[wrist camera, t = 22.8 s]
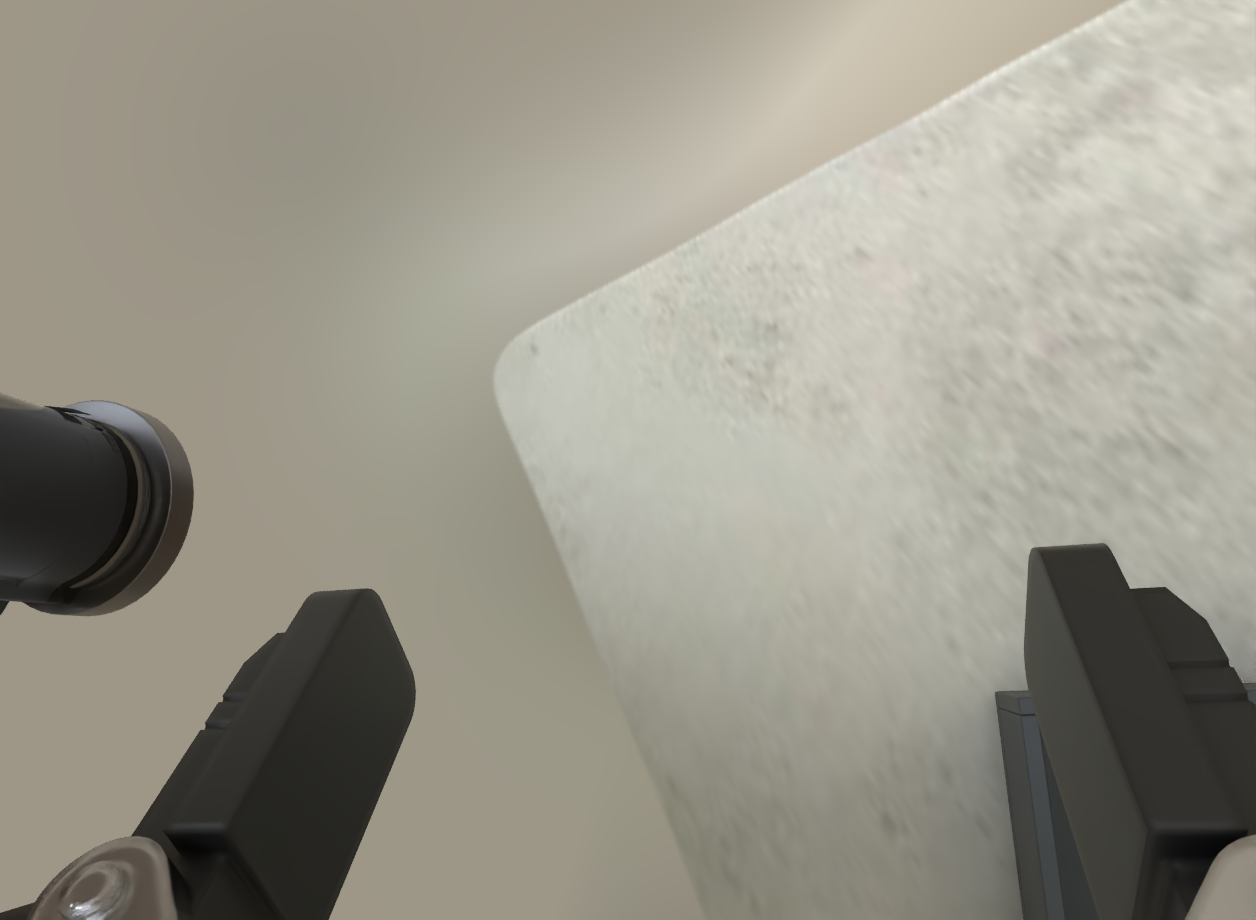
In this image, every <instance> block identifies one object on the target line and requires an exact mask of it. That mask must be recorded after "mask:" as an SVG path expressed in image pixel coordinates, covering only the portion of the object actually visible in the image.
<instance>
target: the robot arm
mask: <svg viewBox="0 0 1256 920" xmlns="http://www.w3.org/2000/svg"><path fill="white" fill-rule="evenodd" d="M64 412H70V413H78V414H87V413H84V412H81V411H78V410H75V409H68V408H60V407H51V406H42V405H39V404H35V403H32V402H29V401H26V400H23V399H19V398H16V397H13V396H9V395H6V394H3V393H0V615H1V614H2V612H3V611H4V609H5V607H6V606H7V604H8V602H9V601H19V602H20V601H21V602H35V603H50V604H66V605H69V604H71V603H72V602H73V600H74V599H75V597H76V595H77V594H78V593H79V591H80V590H81V589H82V588H85V587H88V586H91V585H93V584H95V583H97V582H99V581H101V580H102V579H104V578H105V577H107V576H108V575H109V574H111V573H112V572H113V571H114V570H115V569H117V568H118V567H119V566H120V565H121V564H122V562H123V561H124V560H125V559H126V558H127V556H128V555H129V554H130V553H131V551H132V550H133V548H134V547H135V545H136V543H137V541H138V539H139V537H140V535H141V533H142V531H143V528H144V525H145V523H146V519H147V516H148V511H149V506H150V495H151V487H150V477H149V471H148V468H147V464H146V462H145V459H144V457H143V455H142V453H141V451H140V449H139V448H138V446H137V445H136V443H135V442H134V441H133V440H132V439H131V438H130V437H129V436H128V435H127V434H126V433H124V432H123V431H121V430H120V429H118V428H116V427H114V426H111V425H109V424H106V423H102V422H99V421H96V420H92V419H86V418H83V417H80V416H77V415H72V414H67V413H64ZM87 415H90V414H87ZM1024 660H1025V670H1026V678H1027V684H1028V689H1029V694H1030V698H1031V701H1032V705H1033V708H1034V711H1035V715H1036V718H1037V721H1038V724H1039V727H1040V731H1041V734H1042V737H1043V740H1044V744H1045V747H1046V750H1047V753H1048V756H1049V760H1050V763H1051V766H1052V769H1053V773H1054V776H1055V779H1056V782H1057V785H1058V789H1059V792H1060V795H1061V798H1062V801H1063V805H1064V808H1065V811H1066V814H1067V818H1068V821H1069V824H1070V827H1071V830H1072V834H1073V837H1074V840H1075V843H1076V846H1077V850H1078V853H1079V856H1080V859H1081V863H1082V866H1083V869H1084V872H1085V875H1086V879H1087V882H1088V885H1089V888H1090V892H1091V895H1092V898H1093V901H1094V904H1095V908H1096V911H1097V914H1098V917H1099V920H1256V706H1255V704H1254V703H1253V701H1249V699H1248V692H1247V690H1246V689H1245V687H1244V685H1243V683H1242V682H1241V680H1240V678H1239V676H1238V675H1237V673H1236V671H1235V669H1234V668H1233V667H1230V666H1229V659H1228V657H1227V656H1226V654H1225V652H1224V650H1223V649H1222V647H1221V645H1220V643H1219V642H1218V640H1217V638H1216V636H1215V635H1214V633H1213V631H1212V629H1211V628H1210V626H1209V624H1208V622H1207V621H1206V619H1204V618H1203V617H1202V616H1201V615H1199V614H1198V613H1197V612H1196V611H1194V610H1193V609H1192V608H1191V607H1189V606H1188V605H1187V604H1186V603H1184V602H1183V601H1182V600H1181V599H1179V598H1178V597H1177V596H1176V595H1174V594H1173V593H1172V592H1171V591H1169V590H1168V589H1167V588H1166V587H1157V588H1138V589H1130V588H1129V586H1128V584H1127V582H1126V580H1125V578H1124V576H1123V574H1122V572H1121V570H1120V568H1119V565H1118V563H1117V561H1116V559H1115V557H1114V555H1113V553H1112V552H1111V550H1110V548H1109V547H1108V546H1107V545H1106V544H1104V543H1098V544H1082V545H1067V546H1051V547H1035V548H1032V550H1031V552H1030V555H1029V563H1028V581H1027V600H1026V619H1025V637H1024ZM415 693H416V690H415V681H414V676H413V672H412V669H411V667H410V665H409V662H408V660H407V658H406V655H405V653H404V651H403V648H402V646H401V644H400V641H399V639H398V637H397V635H396V632H395V630H394V628H393V626H392V623H391V621H390V619H389V616H388V614H387V612H386V609H385V607H384V605H383V602H382V600H381V598H380V597H379V595H378V594H377V593H376V592H375V591H374V590H372V589H353V590H352V589H351V590H336V591H320V592H315V593H313V594H311V595H310V596H309V597H308V598H307V599H306V600H305V602H304V603H303V605H302V607H301V608H300V610H299V611H298V613H297V614H296V616H295V618H294V619H293V621H292V622H291V624H290V626H289V627H288V629H287V631H286V632H285V633H277V634H276V635H275V636H274V637H272V638H271V639H270V640H269V641H268V642H267V643H266V644H265V645H263V646H262V647H261V648H260V649H259V650H258V651H257V652H256V653H255V654H254V655H252V656H251V657H250V658H249V659H248V660H247V661H246V662H245V663H244V664H243V665H242V667H241V669H240V670H239V672H238V673H237V675H236V676H235V678H234V680H233V681H232V682H231V684H230V685H229V687H228V689H227V690H226V692H225V693H224V695H223V702H219V703H218V704H217V705H216V707H215V709H214V710H213V712H212V713H211V715H210V716H209V718H208V719H207V721H206V722H205V724H206V728H205V730H200V732H199V733H198V735H197V736H196V738H195V739H194V741H193V742H192V744H191V745H190V747H189V749H188V750H187V752H186V753H185V755H184V756H183V758H182V759H181V761H180V763H179V764H178V766H177V767H176V769H175V770H174V772H173V773H172V775H171V776H170V778H169V779H168V781H167V782H166V784H165V785H164V787H163V788H162V790H161V792H160V793H159V795H158V796H157V798H156V799H155V801H154V802H153V804H152V805H151V807H150V808H149V810H148V812H147V813H146V815H145V816H144V818H143V819H142V821H141V822H140V824H139V825H138V827H137V828H136V830H135V831H134V833H133V834H132V836H131V837H124V838H119V839H116V840H112V841H109V842H106V843H104V844H102V845H100V846H98V847H95V848H93V849H92V850H90V851H88V852H87V853H85V854H83V855H82V856H80V857H79V858H77V859H76V860H75V861H73V862H72V863H70V864H69V865H68V866H67V867H66V868H64V869H63V870H62V871H61V872H60V873H59V874H58V875H57V876H56V877H55V878H54V879H53V880H52V881H51V882H50V883H49V884H48V885H47V887H46V888H45V889H44V890H43V891H42V893H41V894H40V896H39V897H38V898H37V900H36V901H35V902H34V903H31V904H28V905H25V906H21V907H18V908H15V909H12V910H9V911H5V912H2V913H0V920H329V917H330V915H331V912H332V910H333V908H334V905H335V903H336V900H337V898H338V896H339V893H340V891H341V888H342V886H343V883H344V881H345V879H346V876H347V874H348V871H349V869H350V866H351V864H352V862H353V859H354V857H355V855H356V852H357V850H358V847H359V845H360V842H361V840H362V838H363V835H364V833H365V830H366V828H367V825H368V823H369V821H370V818H371V816H372V813H373V811H374V809H375V806H376V804H377V801H378V799H379V797H380V794H381V792H382V789H383V787H384V785H385V782H386V780H387V777H388V775H389V772H390V770H391V768H392V765H393V763H394V760H395V758H396V755H397V753H398V751H399V748H400V746H401V743H402V741H403V738H404V736H405V734H406V731H407V729H408V727H409V724H410V722H411V719H412V716H413V712H414V707H415Z"/></svg>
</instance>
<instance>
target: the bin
mask: <svg viewBox="0 0 1256 920" xmlns="http://www.w3.org/2000/svg"><path fill="white" fill-rule="evenodd" d="M1243 685H1244V687H1245V689H1246V690H1247V692H1248V699H1249V701H1253V703H1254V704H1255V706H1256V683H1243ZM995 696H996V704H997V712H998V720H999V728H1000V736H1001V744H1002V752H1003V760H1004V768H1005V776H1006V784H1007V792H1008V800H1009V808H1010V816H1011V824H1012V832H1013V840H1014V847H1015V855H1016V863H1017V871H1018V879H1019V887H1020V895H1021V903H1022V911H1023V919H1024V920H1099V917H1098V914H1097V911H1096V908H1095V904H1094V901H1093V898H1092V895H1091V892H1090V888H1089V885H1088V882H1087V879H1086V875H1085V872H1084V869H1083V866H1082V863H1081V859H1080V856H1079V853H1078V850H1077V846H1076V843H1075V840H1074V837H1073V834H1072V830H1071V827H1070V824H1069V821H1068V818H1067V814H1066V811H1065V808H1064V805H1063V801H1062V798H1061V795H1060V792H1059V789H1058V785H1057V782H1056V779H1055V776H1054V773H1053V769H1052V766H1051V763H1050V760H1049V756H1048V753H1047V750H1046V747H1045V744H1044V740H1043V737H1042V734H1041V731H1040V727H1039V724H1038V721H1037V718H1036V715H1035V711H1034V708H1033V705H1032V701H1031V698H1030V694H1029V691H999V692H995Z"/></svg>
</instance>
